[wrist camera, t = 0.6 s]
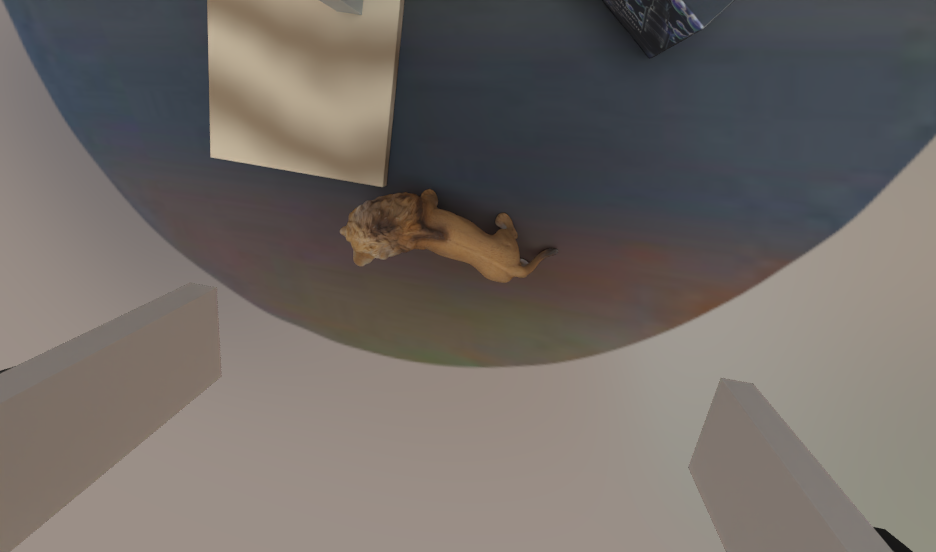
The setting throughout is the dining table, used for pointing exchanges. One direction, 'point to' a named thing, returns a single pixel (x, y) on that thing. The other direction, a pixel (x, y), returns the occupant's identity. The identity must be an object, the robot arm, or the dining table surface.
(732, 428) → the robot arm
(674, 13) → the box
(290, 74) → the board
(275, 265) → the dining table surface
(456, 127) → the dining table surface
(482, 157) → the dining table surface
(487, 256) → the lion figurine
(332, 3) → the block
